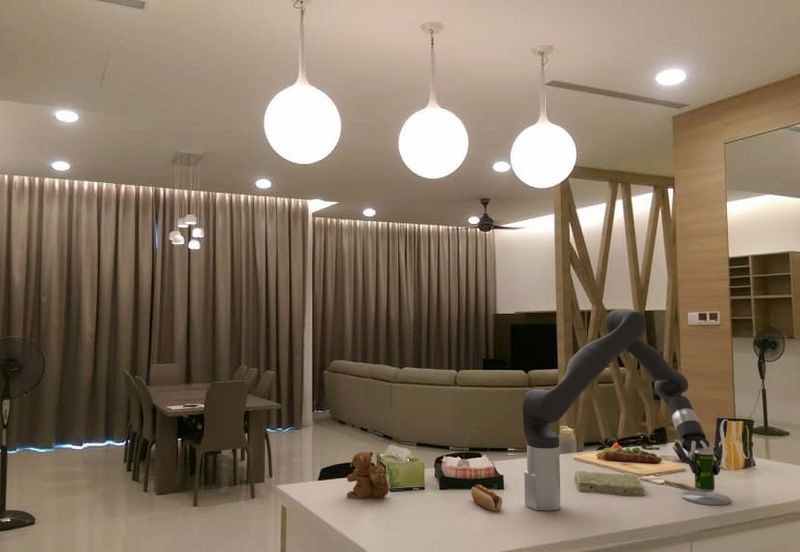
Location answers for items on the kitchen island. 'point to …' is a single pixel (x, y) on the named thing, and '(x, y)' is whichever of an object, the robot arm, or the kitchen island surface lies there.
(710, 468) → the beer can
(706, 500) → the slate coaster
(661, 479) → the beech turner
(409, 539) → the kitchen island surface
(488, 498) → the food
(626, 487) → the decorative tile
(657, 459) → the cutting board
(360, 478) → the stuffed squirrel
